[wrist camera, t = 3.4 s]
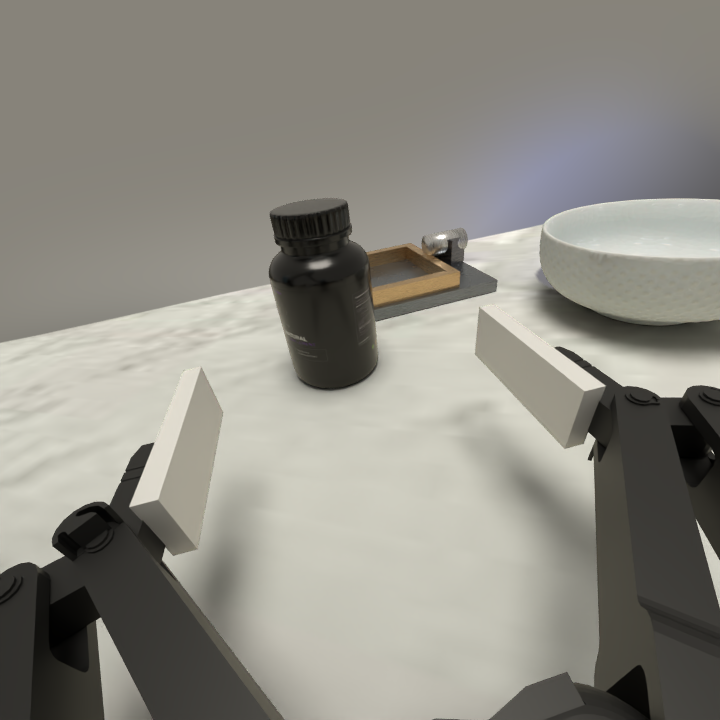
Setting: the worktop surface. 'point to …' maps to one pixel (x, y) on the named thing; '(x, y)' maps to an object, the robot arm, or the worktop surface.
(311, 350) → the supplement bottle
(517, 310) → the worktop surface
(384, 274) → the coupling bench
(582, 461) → the worktop surface
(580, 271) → the cereal bowl
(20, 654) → the robot arm
